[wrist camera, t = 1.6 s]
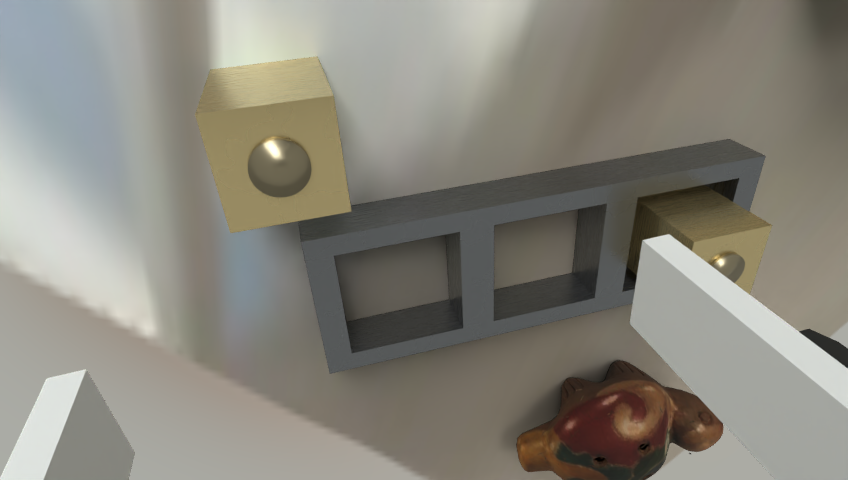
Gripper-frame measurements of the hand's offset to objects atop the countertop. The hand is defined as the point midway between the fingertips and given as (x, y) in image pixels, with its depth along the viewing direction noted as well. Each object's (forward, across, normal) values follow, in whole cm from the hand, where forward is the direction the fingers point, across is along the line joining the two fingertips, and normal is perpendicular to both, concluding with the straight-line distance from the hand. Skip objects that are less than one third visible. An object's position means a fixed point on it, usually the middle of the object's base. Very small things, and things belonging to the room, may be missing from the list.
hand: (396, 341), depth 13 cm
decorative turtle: (+18, +17, -27) cm, 36 cm away
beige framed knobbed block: (+18, +20, -10) cm, 29 cm away
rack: (+18, +12, -10) cm, 23 cm away
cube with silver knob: (+18, -2, +1) cm, 18 cm away
